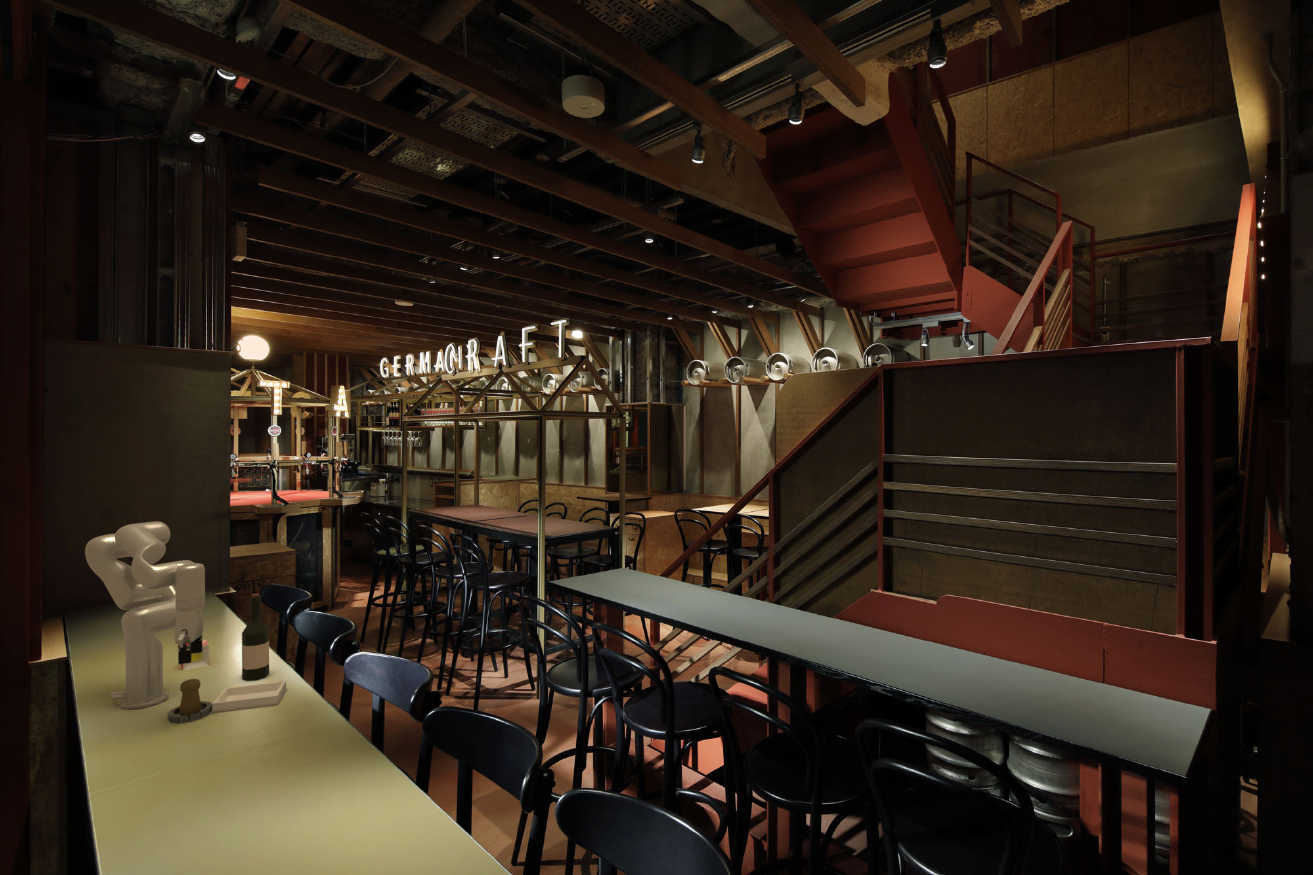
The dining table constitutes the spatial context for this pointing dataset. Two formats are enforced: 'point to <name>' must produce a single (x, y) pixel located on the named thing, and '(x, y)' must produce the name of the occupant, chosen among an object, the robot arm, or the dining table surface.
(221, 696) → the white rectangular tray
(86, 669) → the dining table surface
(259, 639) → the wine bottle
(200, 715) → the stone ring
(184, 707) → the cork
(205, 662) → the small red white box
